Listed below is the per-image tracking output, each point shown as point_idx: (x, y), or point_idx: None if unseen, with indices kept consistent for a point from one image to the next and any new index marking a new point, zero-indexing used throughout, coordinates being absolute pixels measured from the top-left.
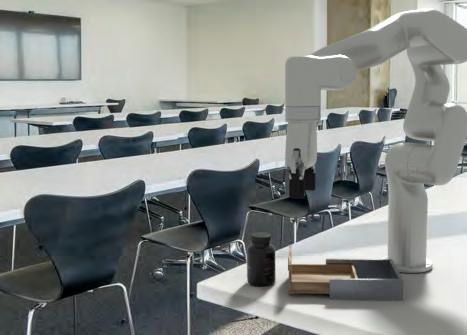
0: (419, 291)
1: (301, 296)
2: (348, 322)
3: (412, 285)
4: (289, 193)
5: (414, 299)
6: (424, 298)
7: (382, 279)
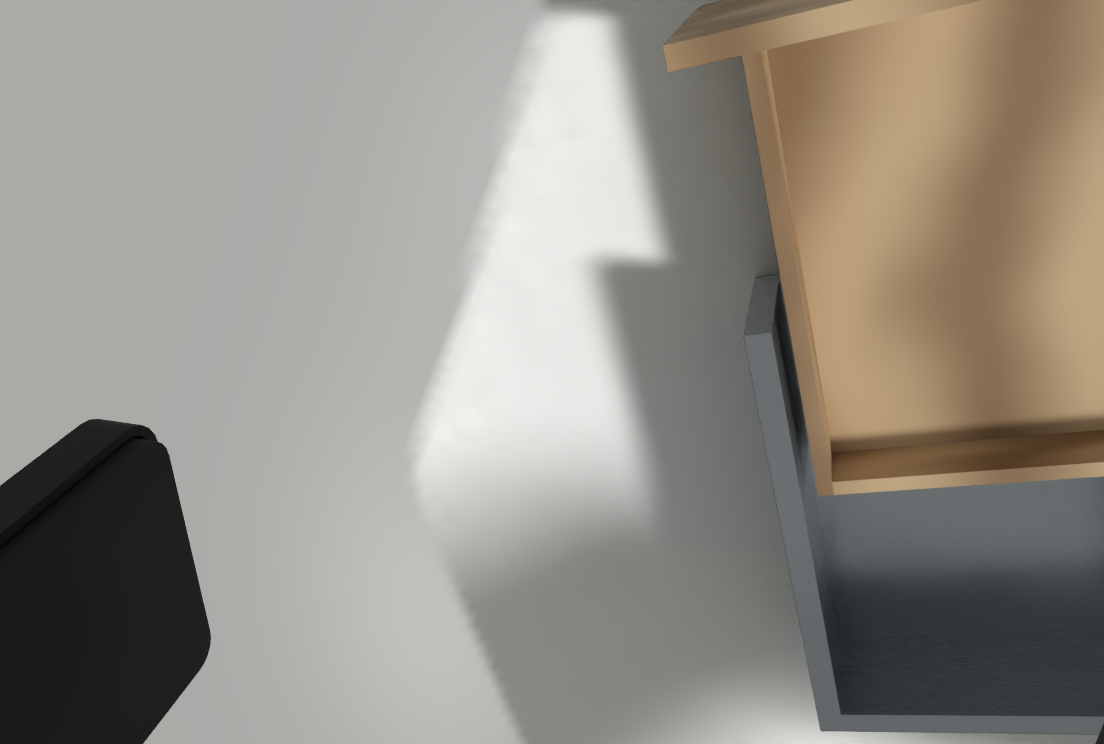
0: None
1: None
2: (459, 393)
3: None
4: (35, 463)
5: None
6: None
7: (812, 635)
